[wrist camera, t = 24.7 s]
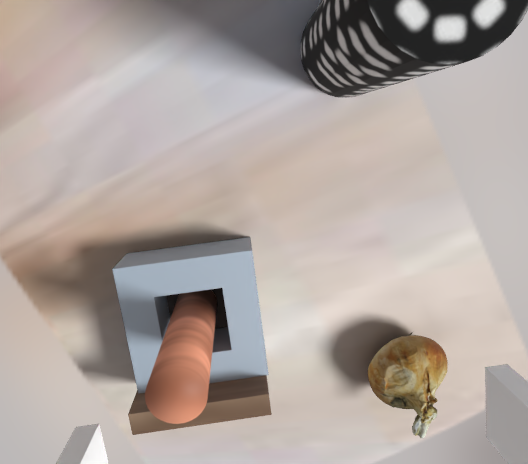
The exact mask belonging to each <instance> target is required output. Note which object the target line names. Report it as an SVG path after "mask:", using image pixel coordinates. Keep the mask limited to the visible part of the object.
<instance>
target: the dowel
mask: <svg viewBox="0 0 528 464" xmlns="http://www.w3.org/2000/svg"><path fill="white" fill-rule="evenodd" d="M216 311H217V298H216V296H215V294H214V293H213V291H212V290H211V289H210V290H202V291H195V292H188V293H181V294H179V296H178V298H177V301H176V304H175V307H174V310H173V313H172V315H171V318H170V321H169V324H168V327H167V330H166V333H165V336H164V338H163V341H162V344H161V347H160V350H159V353H158V356H157V358H156V361H155V364H154V367H153V370H152V373H151V376H150V378H149V381H148V384H147V387H146V390H145V402H146V405H147V407H148V409H149V410H150V412H151V413H152V414H153V415H154V416H155V417H156V418H158V419H160V420H161V421H164V422H167V423H172V424H181V423H186V422H189V421H191V420H193V419H195V418H196V417H197V416H199V415H200V414H201V413H202V411H203V410H204V408H205V406H206V403H207V399H208V389H209V379H210V370H211V360H212V350H213V341H214V331H215V321H216Z"/></svg>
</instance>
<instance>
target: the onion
mask: <svg viewBox="0 0 528 464" xmlns="http://www.w3.org/2000/svg"><path fill="white" fill-rule="evenodd" d="M412 333H413V332H412ZM412 333H411V334H412ZM411 334H410V335H411ZM410 335H408V336H403V337H401V336H400V337H399V338H396V339H393V340H391V341H390V342H388V343H387V344H385V345H384V346H383V347H382V348H381V349H380V350H379V351H378V352H377V353H376V355H375V356H374V358H373V359H372V361H371V363H370V365H369V367H368V378H369V382H370V386H371V388H372V390H373V392H374V393H375V394H376V396H377V397H378V398H379V399H380V400H382V401H383V402H384V403H386V404H388V405H390V406H392V407H397V408H402V409H414V410H415V411H416V412H417V414H418V415H417V417H416V418H415V421H414V423H413V426H412V430H413V434H414V435H415V436H416V435H419V436H420V438H422V439H423V438H424V437H425V435H426V432H427V429H428V427H429V425H430V423H431V421H432V420H434V419H435V418H436V416H437V409H436V408H434V407H433V404H434V403H436V402H437V399H436V398H435V391H436V389H437V388H438V386H439V385H440V384H441V382H442V381H443V379H444V377H445V375H446V373H447V358H446V354H445V352H444V350H443V349H442V348H441V346H440V345H439V344H437V343H436V342H435V341H433V340H431V339H430V338H426V337H423V336H416V335H415V336H410Z"/></svg>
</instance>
